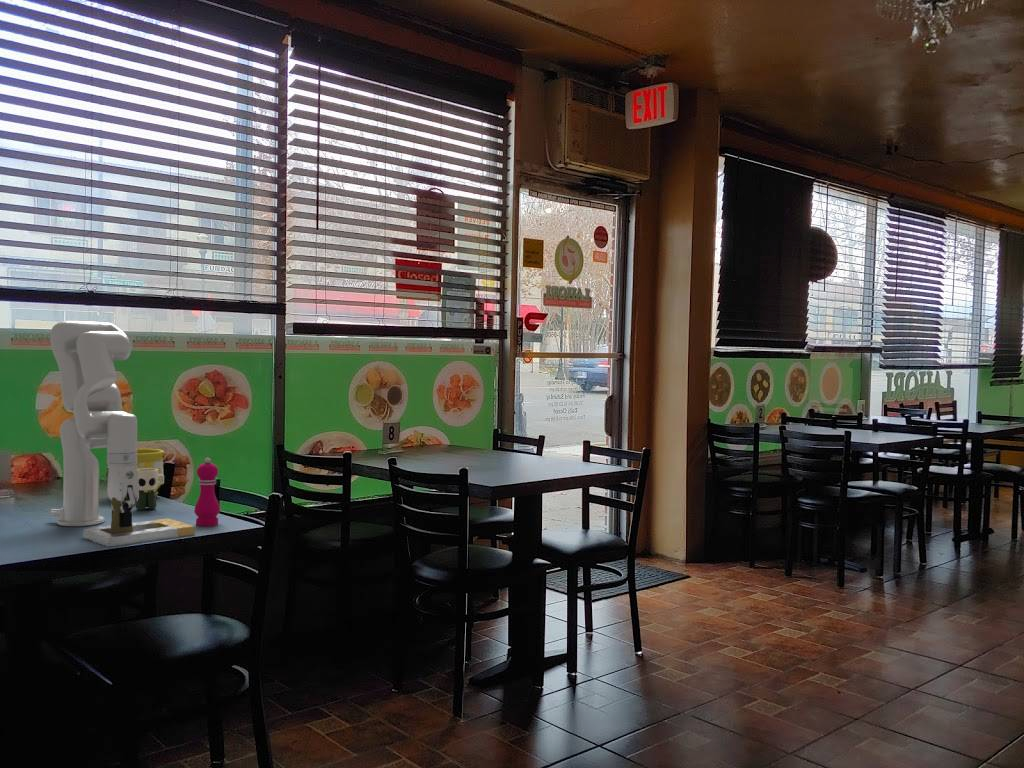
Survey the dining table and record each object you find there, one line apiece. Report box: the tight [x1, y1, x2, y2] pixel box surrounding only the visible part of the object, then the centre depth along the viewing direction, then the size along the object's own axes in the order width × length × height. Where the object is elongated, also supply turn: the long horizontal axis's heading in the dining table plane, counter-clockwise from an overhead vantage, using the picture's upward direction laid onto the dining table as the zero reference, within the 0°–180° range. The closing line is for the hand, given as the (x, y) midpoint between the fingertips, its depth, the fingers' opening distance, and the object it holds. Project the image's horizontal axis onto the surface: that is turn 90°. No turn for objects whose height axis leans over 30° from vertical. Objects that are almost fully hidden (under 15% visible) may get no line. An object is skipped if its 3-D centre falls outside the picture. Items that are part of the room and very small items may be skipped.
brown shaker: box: [110, 497, 133, 535], centre depth 241 cm, size 6×6×11 cm
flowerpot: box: [136, 448, 165, 497], centre depth 308 cm, size 18×18×16 cm
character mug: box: [135, 468, 165, 510], centre depth 286 cm, size 11×7×13 cm, turn 118°
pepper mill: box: [194, 457, 221, 527], centre depth 263 cm, size 7×7×20 cm
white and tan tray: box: [82, 518, 196, 548], centre depth 245 cm, size 24×16×2 cm, turn 137°
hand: (121, 524), depth 241 cm, fingers closed on brown shaker, 4 cm apart
